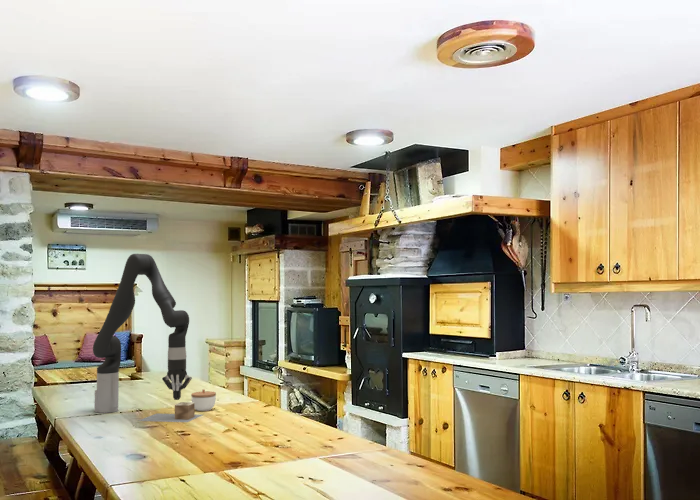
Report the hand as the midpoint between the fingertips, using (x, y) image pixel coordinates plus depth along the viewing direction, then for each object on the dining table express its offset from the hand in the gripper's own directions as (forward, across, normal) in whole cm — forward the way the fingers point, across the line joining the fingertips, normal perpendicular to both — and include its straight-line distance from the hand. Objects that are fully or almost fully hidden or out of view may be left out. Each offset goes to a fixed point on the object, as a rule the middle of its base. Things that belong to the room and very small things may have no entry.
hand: (177, 399), depth 275 cm
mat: (+8, -3, 0) cm, 8 cm away
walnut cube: (+2, +3, 0) cm, 4 cm away
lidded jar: (+8, +3, +19) cm, 21 cm away
